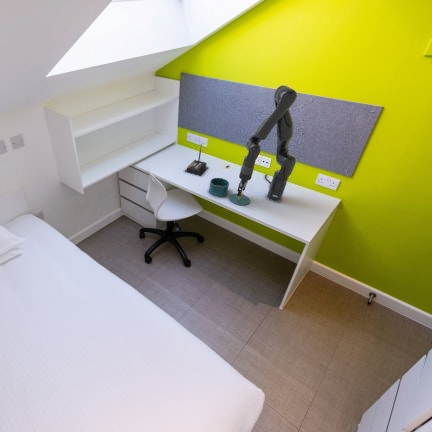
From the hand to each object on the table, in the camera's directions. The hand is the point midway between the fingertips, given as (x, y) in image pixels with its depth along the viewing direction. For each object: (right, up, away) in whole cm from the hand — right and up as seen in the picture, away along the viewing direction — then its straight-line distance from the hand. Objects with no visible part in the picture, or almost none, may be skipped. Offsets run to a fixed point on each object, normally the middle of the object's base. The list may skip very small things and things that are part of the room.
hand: (240, 193), depth 197 cm
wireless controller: (-22, +23, +40) cm, 51 cm away
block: (-13, +2, +11) cm, 17 cm away
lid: (0, -4, +3) cm, 6 cm away
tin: (-13, +1, +11) cm, 17 cm away
